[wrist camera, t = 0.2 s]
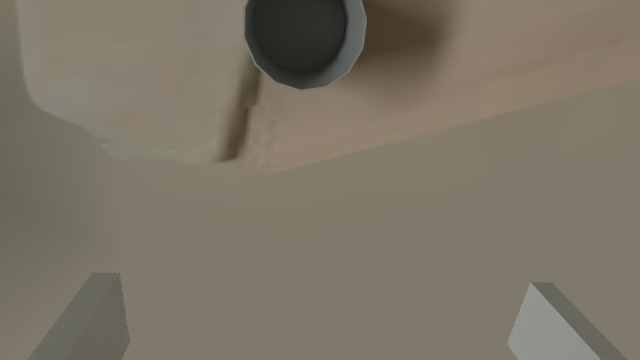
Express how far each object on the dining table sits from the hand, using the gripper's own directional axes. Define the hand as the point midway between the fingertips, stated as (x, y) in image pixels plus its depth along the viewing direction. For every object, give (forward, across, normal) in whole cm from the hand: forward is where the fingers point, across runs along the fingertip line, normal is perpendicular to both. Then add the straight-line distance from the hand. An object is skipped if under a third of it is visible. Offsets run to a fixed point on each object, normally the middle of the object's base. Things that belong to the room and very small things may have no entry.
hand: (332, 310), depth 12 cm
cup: (+28, -1, +8) cm, 29 cm away
